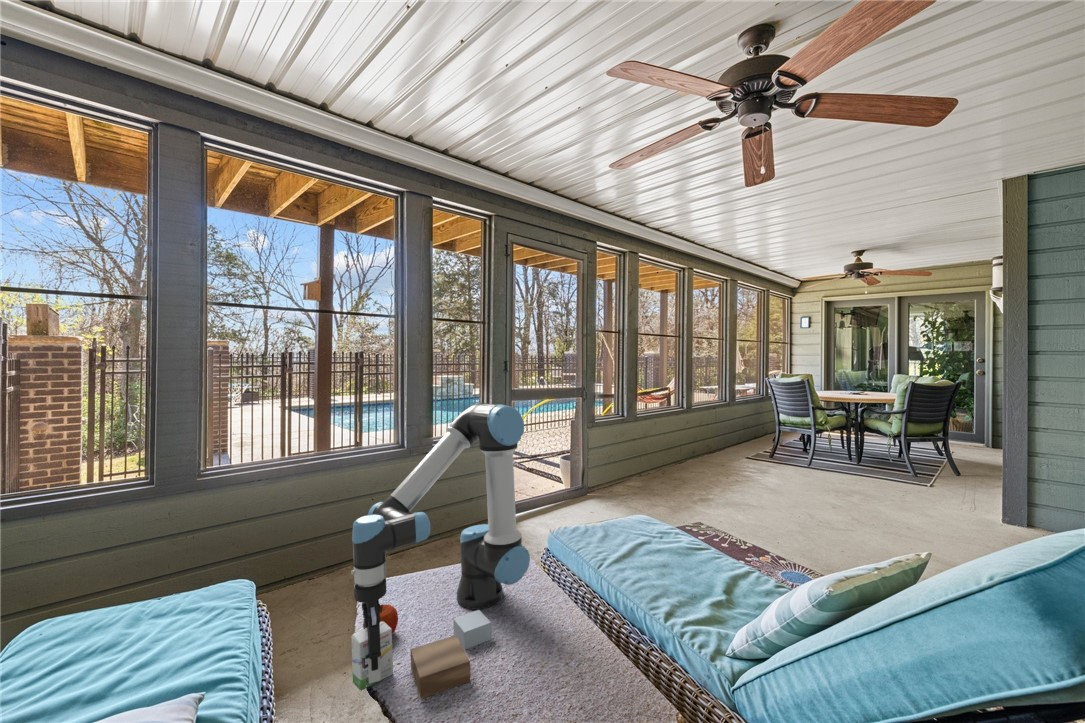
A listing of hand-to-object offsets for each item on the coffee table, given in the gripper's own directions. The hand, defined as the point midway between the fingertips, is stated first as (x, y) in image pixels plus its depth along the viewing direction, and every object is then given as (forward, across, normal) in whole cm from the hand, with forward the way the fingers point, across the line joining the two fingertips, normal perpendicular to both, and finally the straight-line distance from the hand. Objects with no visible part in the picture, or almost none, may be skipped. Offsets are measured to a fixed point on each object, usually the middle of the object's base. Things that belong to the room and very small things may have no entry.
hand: (373, 672), depth 114 cm
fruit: (+2, -17, +4) cm, 18 cm away
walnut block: (+1, +7, +15) cm, 17 cm away
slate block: (+2, -4, +27) cm, 27 cm away
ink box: (+2, 0, 0) cm, 2 cm away
